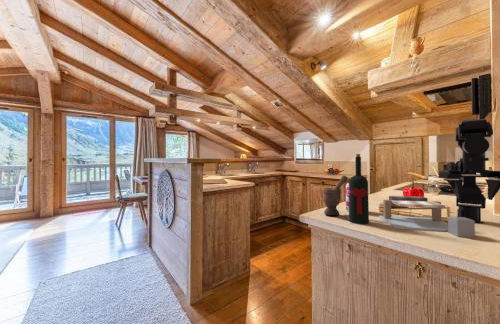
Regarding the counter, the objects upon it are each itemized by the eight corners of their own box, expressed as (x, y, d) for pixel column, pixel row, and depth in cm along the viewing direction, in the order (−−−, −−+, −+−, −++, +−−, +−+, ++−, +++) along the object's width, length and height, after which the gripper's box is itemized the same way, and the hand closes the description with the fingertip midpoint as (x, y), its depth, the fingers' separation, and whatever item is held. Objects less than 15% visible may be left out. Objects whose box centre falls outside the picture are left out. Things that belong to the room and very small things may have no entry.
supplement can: (355, 213, 113) (355, 184, 113) (342, 210, 120) (342, 183, 120) (366, 212, 116) (366, 183, 116) (353, 209, 123) (353, 182, 124)
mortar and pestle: (346, 213, 114) (346, 174, 114) (348, 217, 106) (348, 175, 106) (323, 211, 118) (322, 174, 118) (323, 215, 109) (323, 175, 110)
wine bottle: (349, 224, 93) (348, 153, 93) (348, 218, 102) (348, 154, 103) (370, 226, 90) (369, 153, 90) (367, 220, 99) (367, 154, 100)
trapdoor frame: (434, 219, 100) (434, 199, 100) (465, 232, 82) (464, 208, 82) (379, 217, 105) (378, 198, 105) (395, 228, 87) (395, 205, 87)
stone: (464, 233, 81) (464, 217, 81) (474, 238, 76) (474, 220, 76) (448, 232, 82) (448, 216, 82) (457, 237, 77) (457, 219, 77)
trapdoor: (425, 204, 101) (425, 196, 101) (445, 211, 87) (445, 202, 87) (386, 203, 105) (386, 195, 105) (399, 209, 91) (399, 200, 91)
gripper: (487, 155, 84) (487, 196, 83) (430, 156, 88) (430, 195, 88) (514, 154, 73) (515, 201, 73) (448, 155, 77) (448, 199, 77)
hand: (474, 199), depth 78 cm, fingers open, 9 cm apart
